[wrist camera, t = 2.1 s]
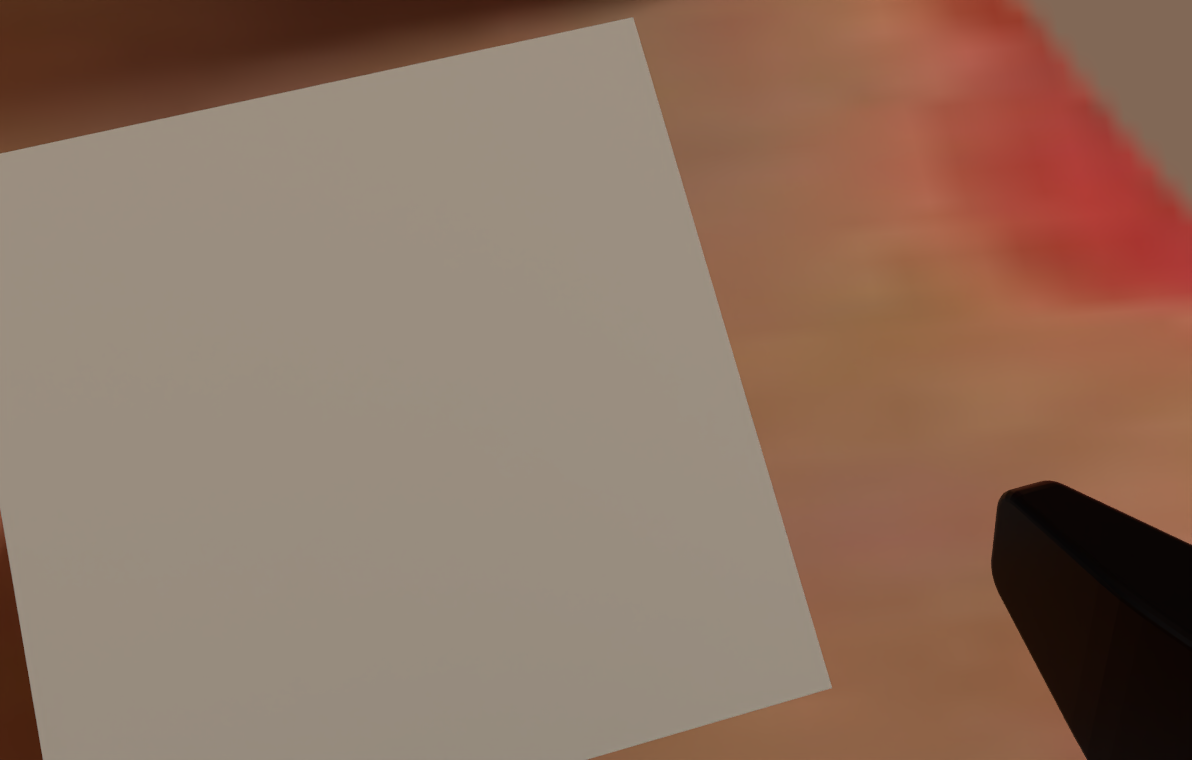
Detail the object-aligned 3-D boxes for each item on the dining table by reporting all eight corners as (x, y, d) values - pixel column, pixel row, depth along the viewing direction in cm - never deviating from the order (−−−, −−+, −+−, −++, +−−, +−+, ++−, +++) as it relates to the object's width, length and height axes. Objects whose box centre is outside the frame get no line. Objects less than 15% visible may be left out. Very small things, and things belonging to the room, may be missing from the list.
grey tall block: (645, 627, 17) (832, 689, 7) (360, 707, 17) (69, 913, 6) (571, 354, 18) (633, 15, 8) (297, 422, 18) (-58, 165, 7)
